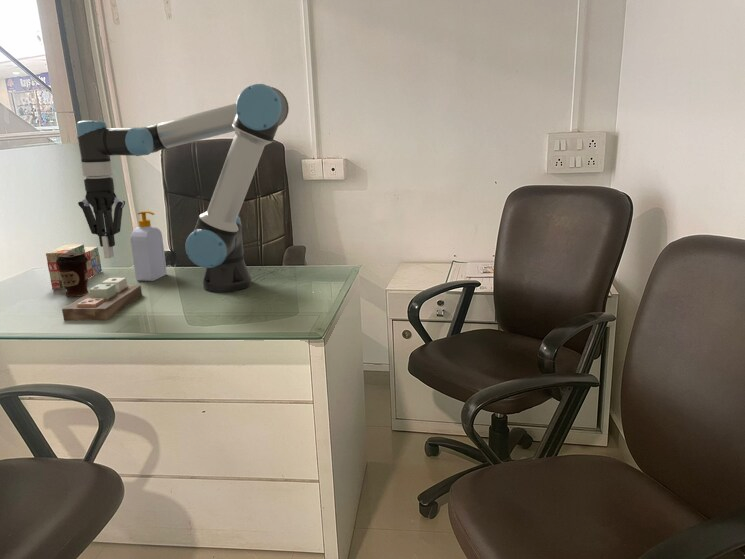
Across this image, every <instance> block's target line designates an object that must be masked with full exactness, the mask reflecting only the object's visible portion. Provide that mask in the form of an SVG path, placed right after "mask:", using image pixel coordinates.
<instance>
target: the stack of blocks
mask: <svg viewBox="0 0 745 559" xmlns="http://www.w3.org/2000/svg"><path fill="white" fill-rule="evenodd" d="M76 252H82V253H84V255H85V256H86V257H87V258H88V261H87V270H88V278H89V279H91V278H92V277H91V276H93V275H94V276H96V275H98V274H99V272H100V273H102V272H101V271H103V269H102V265H101V257H100V256H101V255H100V253H99V247H98V246H85V245H84V243H82V244H81V243H80V244H79V243H77V244H76V243H75V244H63V245H62V246H59V247H57V248H55V249H53V250H51V251H48V252H45V256H46V261H47V267H48V272H49V273H48V274H49V278H50V285H51V289H53V290H58V289H59V290H62V289H63V290H66V288H65V287H64V286H63V282H62V279H61V276H60V272H59V266H58V265H57V263H56V261H57V259H58V255H60V254H66V253H76ZM97 273H98V274H97ZM94 276H93V277H94ZM90 277H91V278H90Z"/></svg>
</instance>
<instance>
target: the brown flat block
mask: <svg viewBox="0 0 745 559" xmlns="http://www.w3.org/2000/svg"><path fill="white" fill-rule="evenodd" d="M142 296H143V292H142V285H141V284H140V285H139V284H136V285H135V284H133V285H132V284H131V285H129V284H127V288H125V289H124V290H122V291H120V292H116V295H114V296H113V297H111V298H109V299H104V301H105V302H104V303H102V304H101V305H99V306H98V307H77V304H78V303H80V302H81V301H83V300H85V299H87V298H91V297H90V292H89V294H86V295H83V296H82V297H79V298H78V299H76V300H75V301H74V302H71V303H70V304H67V305H65V306H64V307H62V308H61V311H62V317H63V321H90V320H91V321H96V320H97V321H107V320H109V319H110V318H112V317H113V316H115V315H116V314H118V313H119V312H120V311H122V310H123V309H125V308H126V307H128V306H129V305H131V304H132V303H133V302H135V301H136V300H137V299H139V298H140V297H142Z"/></svg>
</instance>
